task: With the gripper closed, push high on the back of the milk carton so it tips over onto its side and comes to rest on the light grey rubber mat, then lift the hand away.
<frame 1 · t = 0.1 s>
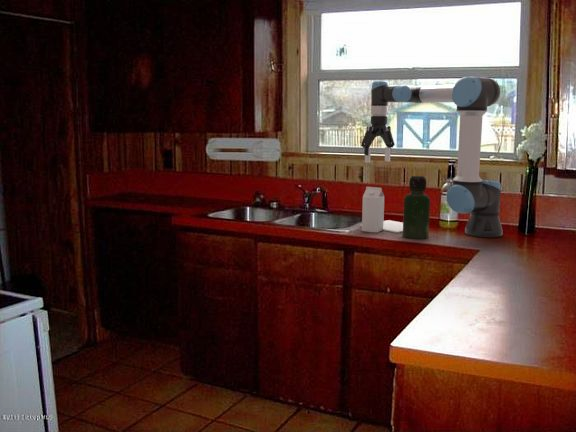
hand: (377, 162, 289), 28 cm above the worktop, fingers open, 13 cm apart
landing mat: (392, 226, 280), on the worktop
green bottle: (415, 237, 258), on the worktop
milk carton: (372, 231, 271), on the worktop
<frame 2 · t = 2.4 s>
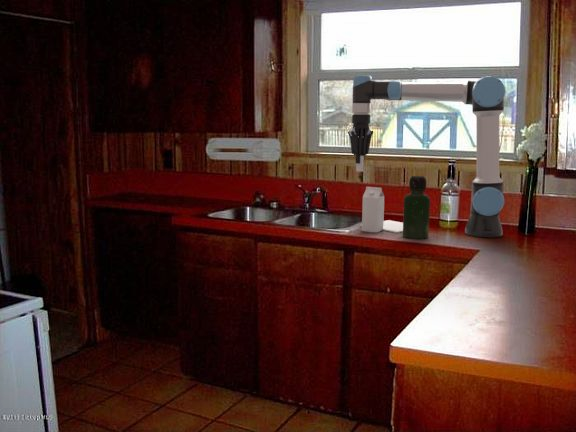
hand: (359, 171, 261), 26 cm above the worktop, fingers closed
nothing on the worktop moved.
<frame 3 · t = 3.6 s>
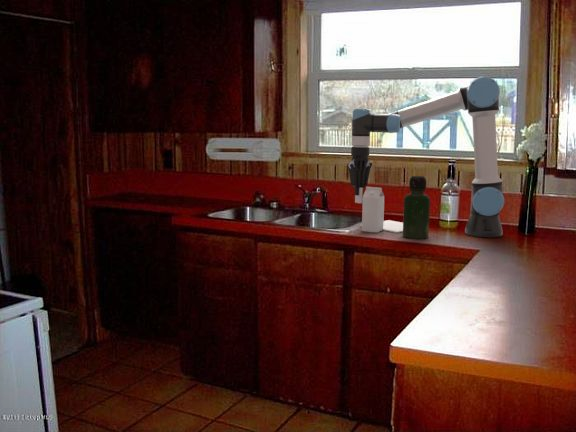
hand: (358, 202, 263), 13 cm above the worktop, fingers closed
nothing on the worktop moved.
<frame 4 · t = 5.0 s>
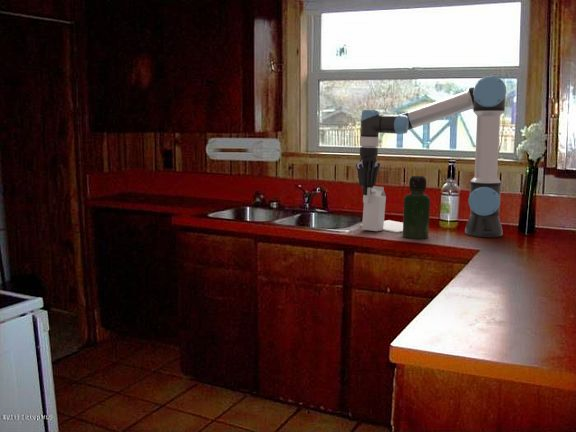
hand: (366, 202, 266), 13 cm above the worktop, fingers closed
milk carton: (372, 230, 271), on the worktop, touching gripper, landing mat
everything else where it was.
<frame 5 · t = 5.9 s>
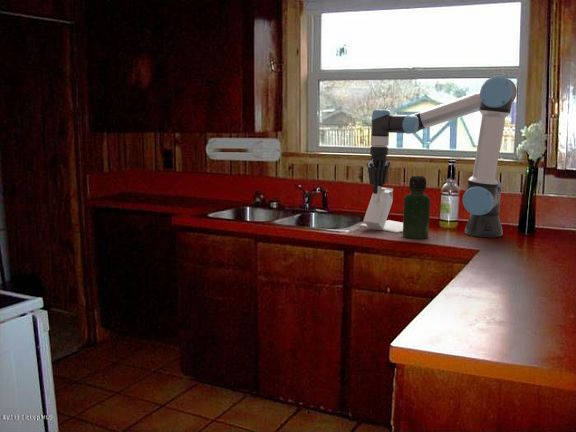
hand: (376, 200, 271), 13 cm above the worktop, fingers closed
milk carton: (372, 226, 271), point 2 cm above the worktop, touching gripper, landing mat
everything else where it was.
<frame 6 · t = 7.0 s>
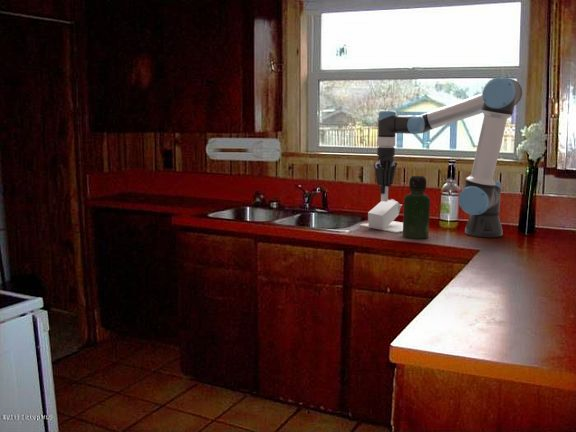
hand: (384, 201, 273), 12 cm above the worktop, fingers closed
milk carton: (374, 221, 272), point 4 cm above the worktop
everything else where it was.
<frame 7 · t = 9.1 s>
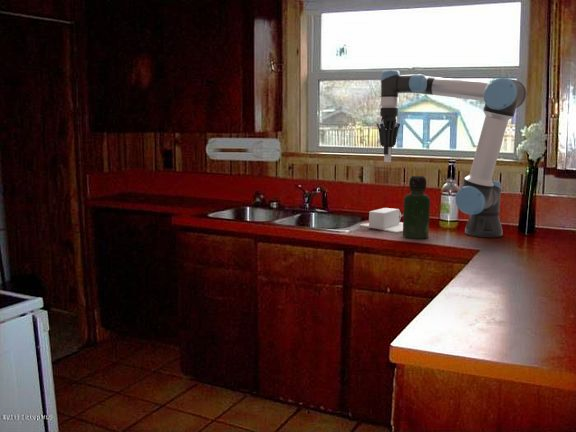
hand: (387, 161, 273), 29 cm above the worktop, fingers closed
milk carton: (375, 220, 272), point 4 cm above the worktop, touching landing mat
everything else where it was.
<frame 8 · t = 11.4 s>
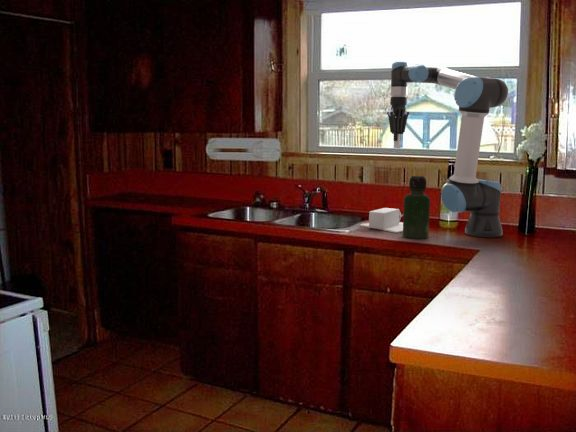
hand: (396, 148, 291), 34 cm above the worktop, fingers closed
nothing on the worktop moved.
at the end: milk carton tilted 90°; milk carton touching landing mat; milk carton inside the target area (1.5 cm from its centre), point 4.2 cm above the worktop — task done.
